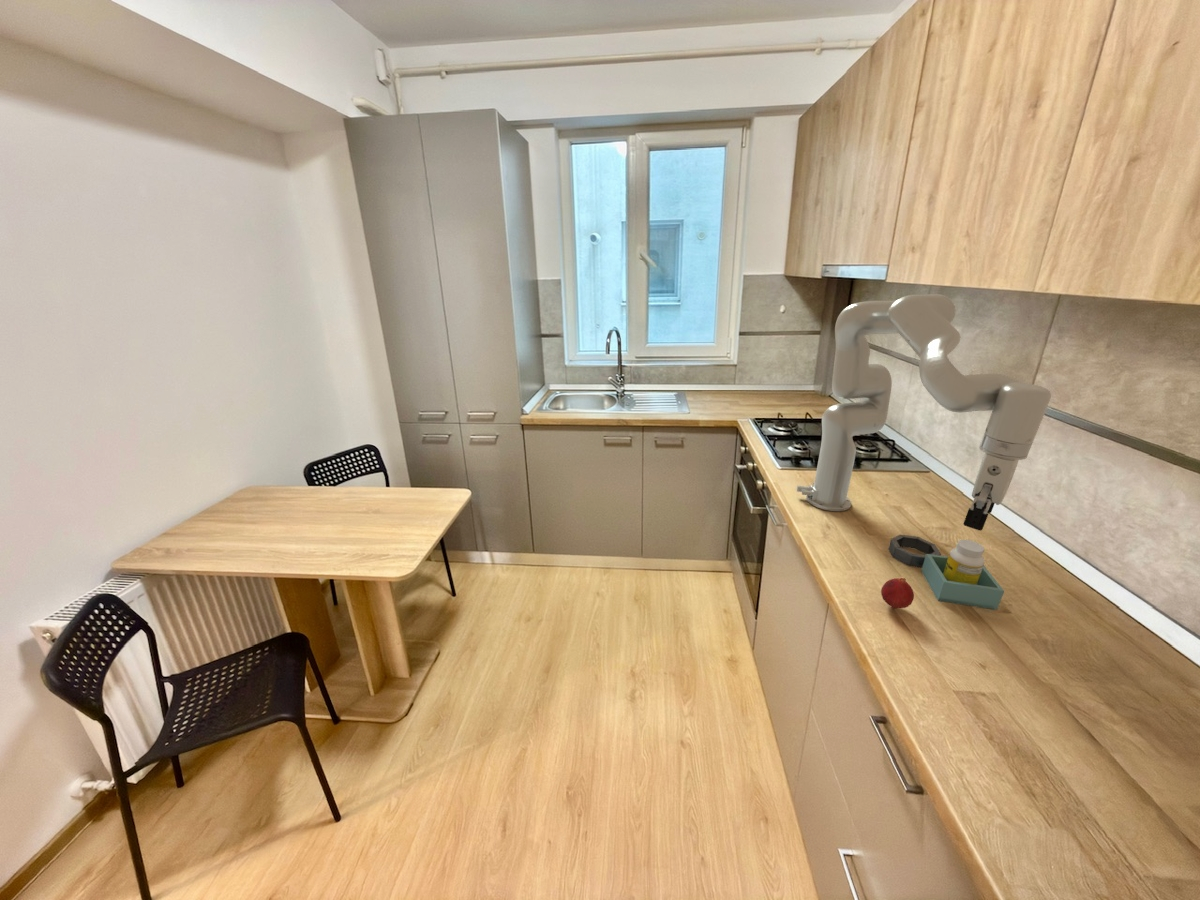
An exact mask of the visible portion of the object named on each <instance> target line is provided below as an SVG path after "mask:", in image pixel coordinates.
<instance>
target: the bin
mask: <svg viewBox="0 0 1200 900" xmlns="http://www.w3.org/2000/svg"><path fill="white" fill-rule="evenodd" d="M925 555H926V557H925V560H924V563H923V567H922V568H921V570H920V572H921V573H922V575H923V577H924V579H925V581H926V583H927V584H928V586H929V588H930V589H931V591H932V593H933V595H934V596H935V599H936V600H937V601H938V602H944V603H951V604H954V605H955V604H956V605H964V606H969V607H975V606H977V607H976V608H983V609H989V610H996V611H998V608H999V605H1000V603H1001V601H1002V598H1003V595H1004V593H1005V590H1004V589H1003V588H1002V586H1001V585H1000V584H999V582H998V581H997V580H996V579H995V577H994V576H993V575H992V574H991V572H990V571H989V570H988V568H987V567H986V566H985V565H984V566H983V569H982V571H981V574H980V577H979V580H978V582H977V585H974V584H967V583H960V582H953V581H947V580H946V578H945V577H944V575H943V572H944V569H945V566H946V563H947V560H948V557H949V556H946V555H945V556H944V555H941V556H939V555H932V554H925Z"/></svg>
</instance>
